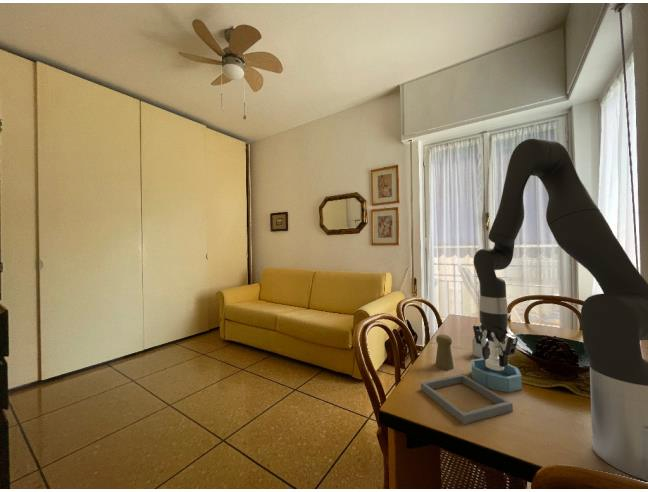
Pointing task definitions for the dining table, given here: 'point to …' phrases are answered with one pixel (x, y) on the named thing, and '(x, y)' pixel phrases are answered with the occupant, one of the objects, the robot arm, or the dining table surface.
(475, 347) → the grey house block
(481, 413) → the grey square frame
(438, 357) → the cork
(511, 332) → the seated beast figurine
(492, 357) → the chess pawn
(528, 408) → the dining table surface
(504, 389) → the bowl
